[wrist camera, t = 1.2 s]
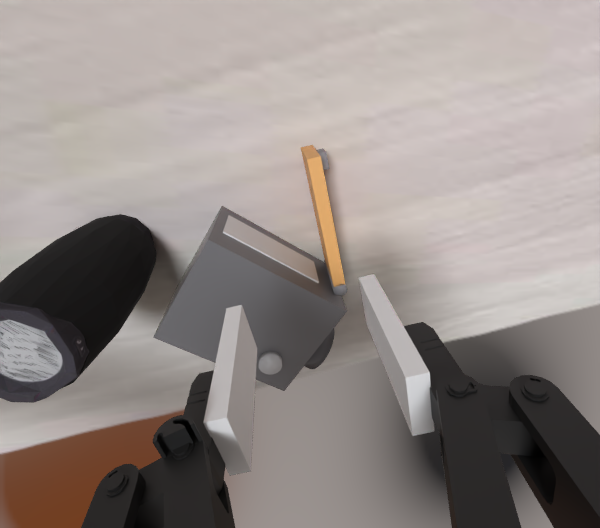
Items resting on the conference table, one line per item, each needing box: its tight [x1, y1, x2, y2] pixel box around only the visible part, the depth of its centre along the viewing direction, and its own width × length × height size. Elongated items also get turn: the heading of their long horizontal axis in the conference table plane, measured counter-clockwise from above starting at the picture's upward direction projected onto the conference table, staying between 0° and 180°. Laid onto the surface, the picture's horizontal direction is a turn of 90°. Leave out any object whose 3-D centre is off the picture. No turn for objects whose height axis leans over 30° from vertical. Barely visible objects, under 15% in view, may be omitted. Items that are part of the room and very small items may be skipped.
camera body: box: [154, 206, 347, 391], centre depth 40 cm, size 18×12×11 cm
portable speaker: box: [0, 215, 156, 402], centre depth 32 cm, size 9×9×20 cm
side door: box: [301, 145, 347, 296], centre depth 37 cm, size 14×2×7 cm, turn 13°
